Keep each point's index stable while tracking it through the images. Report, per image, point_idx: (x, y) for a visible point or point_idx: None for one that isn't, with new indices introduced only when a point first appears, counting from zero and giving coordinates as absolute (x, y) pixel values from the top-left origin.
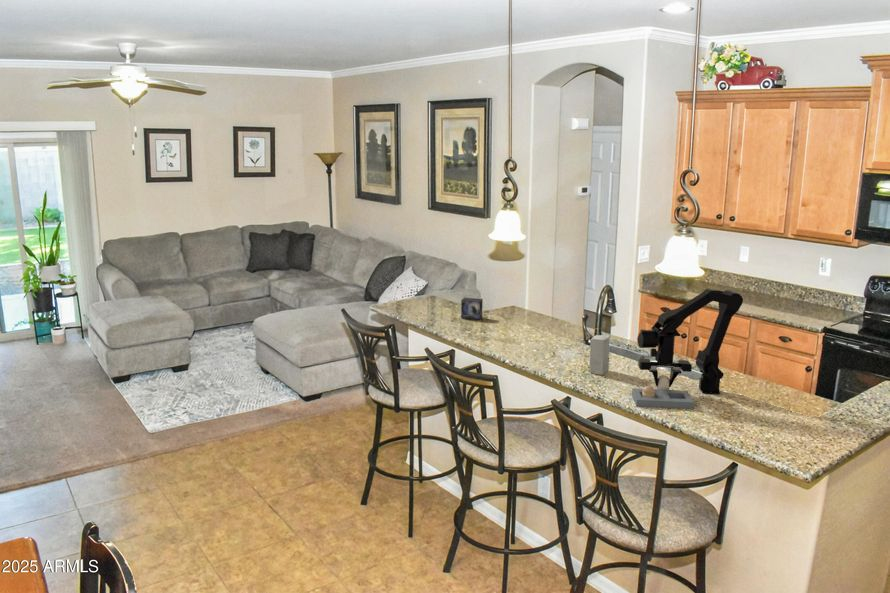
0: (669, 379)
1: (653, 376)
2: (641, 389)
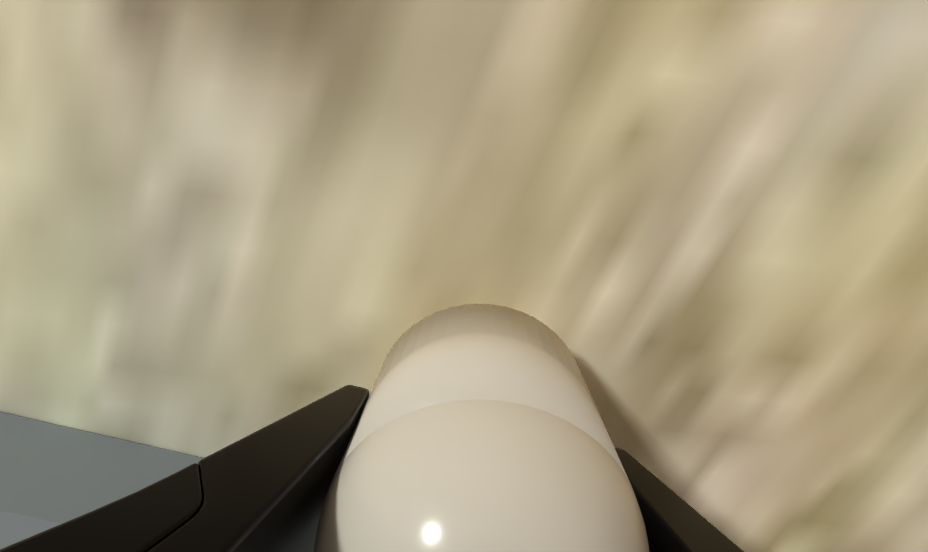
0: (673, 550)
1: (170, 483)
2: (8, 542)
